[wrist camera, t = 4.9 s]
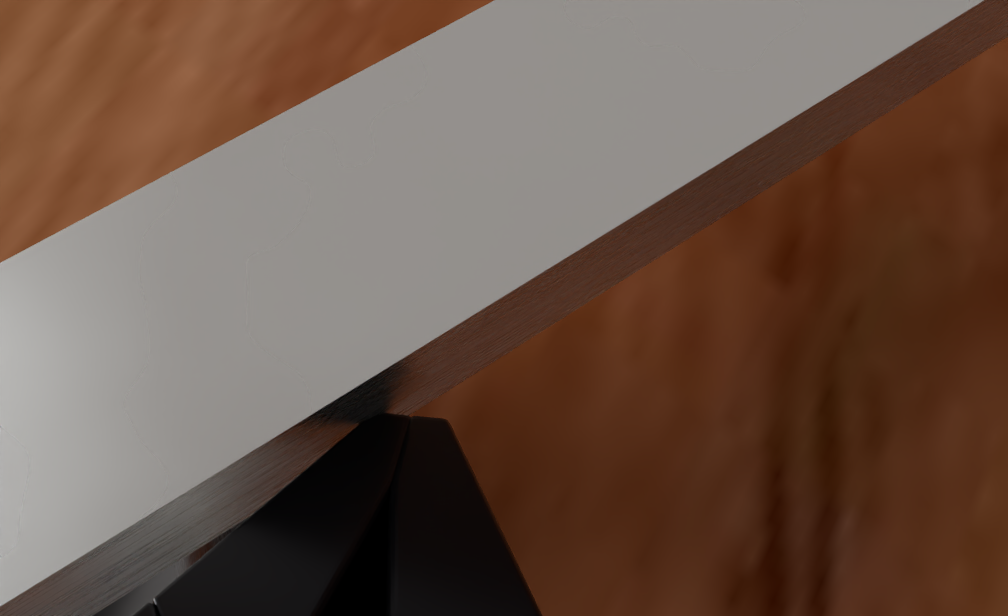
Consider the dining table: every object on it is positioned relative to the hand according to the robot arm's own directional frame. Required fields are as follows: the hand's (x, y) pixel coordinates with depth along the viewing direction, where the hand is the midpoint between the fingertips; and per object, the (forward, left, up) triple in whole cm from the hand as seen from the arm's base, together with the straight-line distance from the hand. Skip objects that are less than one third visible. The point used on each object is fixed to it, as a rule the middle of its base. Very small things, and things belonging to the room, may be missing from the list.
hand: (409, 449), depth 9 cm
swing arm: (+1, -3, -2) cm, 4 cm away
